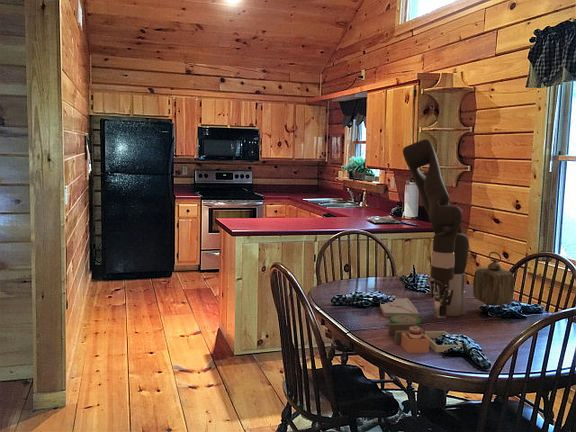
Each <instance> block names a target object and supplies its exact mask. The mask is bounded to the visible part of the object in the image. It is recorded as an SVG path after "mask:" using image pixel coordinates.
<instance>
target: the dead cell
mask: <svg viewBox="0 0 576 432" xmlns="http://www.w3.org/2000/svg"><path fill="white" fill-rule="evenodd" d="M422 330H423V329H422V327H421V326H420V327H418V326H412V327H409V339H421V336H422Z"/></svg>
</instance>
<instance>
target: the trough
mask: <svg viewBox="0 0 576 432" xmlns="http://www.w3.org/2000/svg"><path fill="white" fill-rule="evenodd" d="M443 334H444V335H448V336H449V337H450V336H451V335H450V334H449V333H448V332H447V331H446V330H438V331H437V330H436V331H435V330H433V331H432V330H431V331H425V336H426V337H427V338H429V348H431V349H432V350H433V351H435V353H445V352H444V351H446V350H448V349H450V348H454V347H462V348H463V344H461V343H460V342H459V341H458V340H457V341H455V340H456V339H455V340H454V341H455V342H456V343H457V344H458V345H452V344H437V343H436V342H435V341H434V340H433V338H436V339H437V337H439V336H441V335H443Z"/></svg>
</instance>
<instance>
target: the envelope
mask: <svg viewBox="0 0 576 432" xmlns="http://www.w3.org/2000/svg"><path fill="white" fill-rule="evenodd" d="M394 298H395V300H394V301H393V302H388V303H385V304H381V303H380V307H379V308H381V309H380V311H381V310H382V311H381V313H382V316H383V317H384V318H391V317H393V316H396V315H410V316H414V317H417V318H419V319H420V313H419V311H418V310H417V307H415V306H414V304H413V303H412V302H411V300H410V299H409V298H408V297H394Z"/></svg>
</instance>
